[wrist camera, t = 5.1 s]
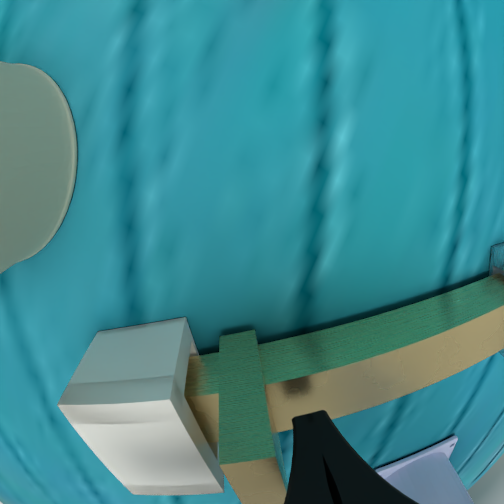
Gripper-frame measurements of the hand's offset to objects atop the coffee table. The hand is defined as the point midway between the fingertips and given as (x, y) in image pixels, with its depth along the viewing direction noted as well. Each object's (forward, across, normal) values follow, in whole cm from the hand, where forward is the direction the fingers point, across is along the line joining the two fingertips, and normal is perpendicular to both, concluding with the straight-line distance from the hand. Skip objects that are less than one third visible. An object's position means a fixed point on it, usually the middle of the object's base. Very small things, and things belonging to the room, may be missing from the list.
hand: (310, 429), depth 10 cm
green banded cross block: (+5, -2, 0) cm, 5 cm away
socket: (+5, +6, 0) cm, 8 cm away
